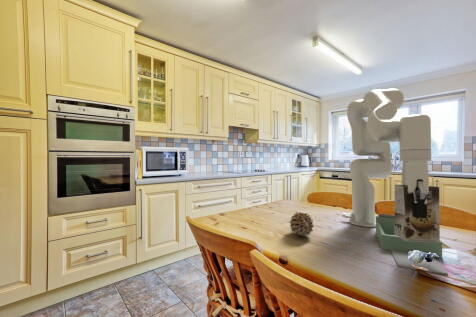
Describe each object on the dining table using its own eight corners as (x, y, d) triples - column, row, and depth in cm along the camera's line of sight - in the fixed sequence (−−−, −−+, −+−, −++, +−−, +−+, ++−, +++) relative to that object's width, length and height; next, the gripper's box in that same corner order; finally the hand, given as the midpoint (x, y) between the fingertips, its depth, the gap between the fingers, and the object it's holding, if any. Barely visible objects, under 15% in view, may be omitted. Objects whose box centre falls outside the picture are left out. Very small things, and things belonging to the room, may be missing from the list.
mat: (397, 266, 64) (397, 264, 64) (391, 251, 75) (391, 249, 75) (448, 275, 59) (448, 273, 59) (433, 257, 70) (433, 256, 70)
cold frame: (381, 249, 77) (381, 225, 77) (375, 232, 95) (375, 213, 95) (442, 258, 70) (441, 231, 70) (423, 238, 88) (423, 217, 88)
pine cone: (318, 242, 83) (318, 216, 83) (292, 242, 84) (292, 215, 84) (305, 225, 105) (305, 204, 105) (284, 225, 106) (284, 204, 106)
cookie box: (406, 241, 64) (405, 186, 65) (393, 234, 71) (393, 184, 71) (441, 243, 63) (440, 186, 63) (425, 235, 70) (424, 184, 70)
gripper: (394, 157, 77) (395, 208, 77) (406, 155, 61) (407, 219, 61) (422, 156, 73) (423, 210, 73) (441, 155, 58) (442, 222, 58)
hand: (415, 214), depth 67 cm, fingers closed on cookie box, 7 cm apart
